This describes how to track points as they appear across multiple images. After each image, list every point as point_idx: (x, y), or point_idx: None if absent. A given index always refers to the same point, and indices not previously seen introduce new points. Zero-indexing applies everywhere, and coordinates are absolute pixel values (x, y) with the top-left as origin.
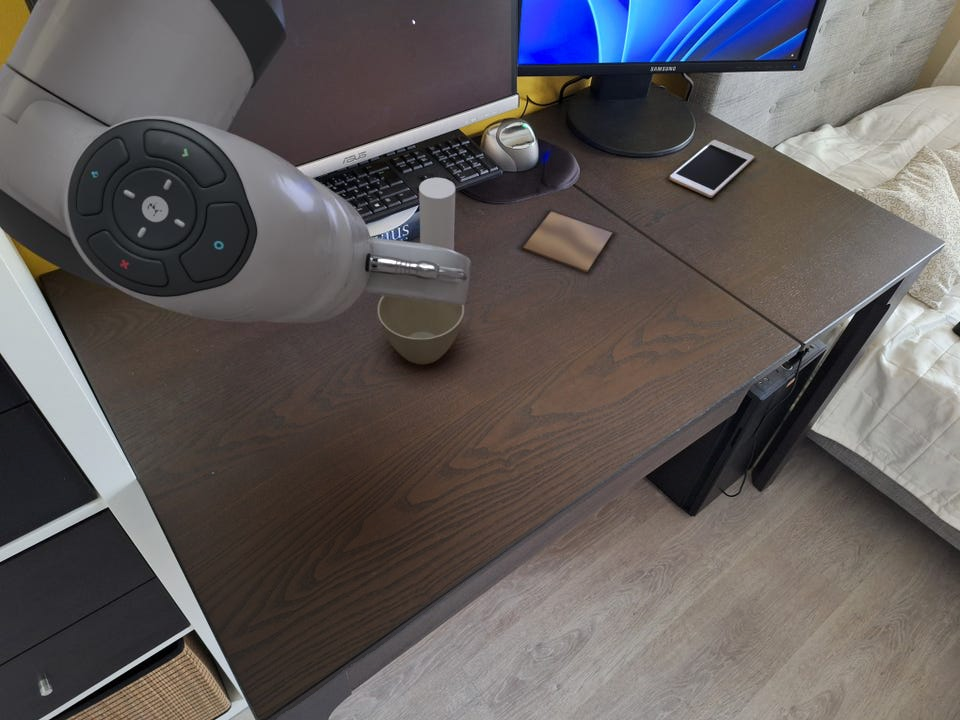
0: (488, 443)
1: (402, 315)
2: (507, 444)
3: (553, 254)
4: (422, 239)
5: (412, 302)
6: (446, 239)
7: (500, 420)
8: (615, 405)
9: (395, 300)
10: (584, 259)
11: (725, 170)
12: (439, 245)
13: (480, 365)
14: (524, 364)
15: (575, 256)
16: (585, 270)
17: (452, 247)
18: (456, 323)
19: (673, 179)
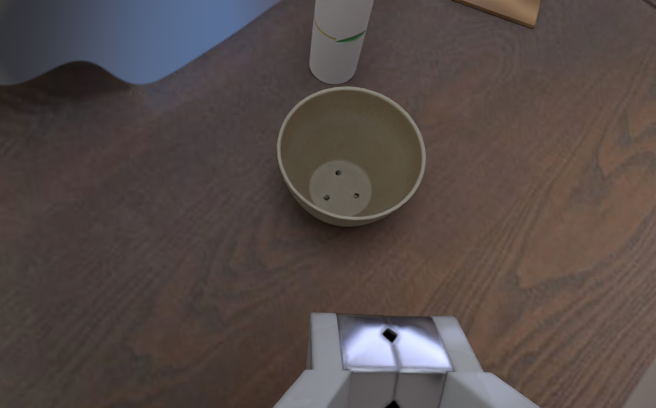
0: (474, 351)
1: (306, 144)
2: (501, 348)
3: (483, 1)
4: (324, 6)
5: (320, 122)
6: (367, 5)
7: (480, 305)
8: (625, 252)
9: (296, 127)
10: (525, 7)
11: None
12: (355, 16)
13: (429, 208)
14: (489, 197)
15: (513, 3)
16: (531, 25)
17: (369, 15)
18: (399, 156)
19: None
